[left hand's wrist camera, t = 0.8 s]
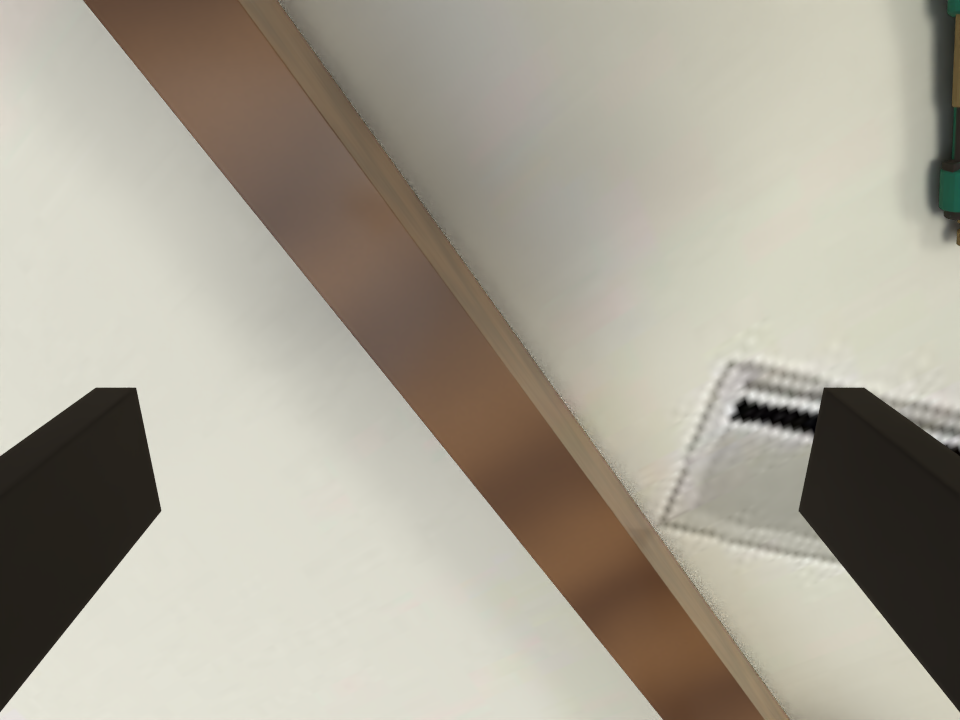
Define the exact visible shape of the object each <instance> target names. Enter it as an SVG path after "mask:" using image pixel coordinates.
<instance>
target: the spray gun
mask: <svg viewBox="0 0 960 720" xmlns="http://www.w3.org/2000/svg"><path fill="white" fill-rule="evenodd" d="M947 13H948V14H949V15H950V16H952V17H956V21H955V43H954V66H953V89H952V107H954V121H953V146H952V160H948V161H944V162H942V169H941V170H940V188H939V208H940V209H942V210H944V216H945V217H946V218H948V219H953V220H957V222H958V223H959V224H960V0H948V5H947ZM957 244H958V245H959V246H960V229H958V230H957Z"/></svg>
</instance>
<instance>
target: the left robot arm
mask: <svg viewBox="0 0 960 720" xmlns="http://www.w3.org/2000/svg"><path fill="white" fill-rule="evenodd" d="M160 512H161V507H160V502H159V497H158V492H157V487H156V482H155V478H154V473H153V468H152V463H151V458H150V453H149V448H148V444H147V439H146V434H145V429H144V424H143V419H142V414H141V410H140V405H139V400H138V395H137V390H136V388H95V389H93V390H92V391H91V392H89V393H88V394H86V395H85V396H84V397H82V398H81V399H79V400H78V401H77V402H75V403H74V404H72V405H71V406H70V407H68V408H67V409H66V410H64V411H63V412H61V413H60V414H59V415H57V416H56V417H54V418H53V419H52V420H50V421H49V422H47V423H46V424H45V425H43V426H42V427H40V428H39V429H38V430H36V431H35V432H33V433H32V434H31V435H29V436H28V437H26V438H25V439H24V440H22V441H21V442H19V443H18V444H17V445H15V446H14V447H12V448H11V449H10V450H8V451H7V452H5V453H4V454H3V455H1V456H0V712H1V710H2V709H3V708H4V707H5V705H6V704H7V703H8V702H9V700H10V699H11V698H12V697H13V695H14V694H15V693H16V692H17V690H18V689H19V688H20V687H21V685H22V684H23V683H24V682H25V680H26V679H27V678H28V677H29V675H30V674H31V673H32V672H33V670H34V669H35V668H36V667H37V665H38V664H39V663H40V662H41V660H42V659H43V658H44V657H45V655H46V654H47V653H48V652H49V651H50V649H51V648H52V647H53V646H54V644H55V643H56V642H57V641H58V639H59V638H60V637H61V636H62V634H63V633H64V632H65V631H66V629H67V628H68V627H69V626H70V624H71V623H72V622H73V621H74V619H75V618H76V617H77V616H78V614H79V613H80V612H81V611H82V609H83V608H84V607H85V606H86V604H87V603H88V602H89V601H90V599H91V598H92V597H93V596H94V594H95V593H96V592H97V591H98V589H99V588H100V587H101V586H102V584H103V583H104V582H105V581H106V579H107V578H108V577H109V576H110V574H111V573H112V572H113V571H114V569H115V568H116V567H117V566H118V564H119V563H120V562H121V561H122V559H123V558H124V557H125V556H126V554H127V553H128V552H129V551H130V549H131V548H132V547H133V546H134V544H135V543H136V542H137V541H138V539H139V538H140V537H141V536H142V534H143V533H144V532H145V531H146V529H147V528H148V527H149V526H150V524H151V523H152V522H153V521H154V519H155V518H156V517H157V516H158V514H159V513H160ZM799 512H800V513H801V514H802V516H803V517H804V518H805V519H806V521H807V522H808V523H809V524H810V526H811V527H812V528H813V529H814V531H815V532H816V533H817V534H818V536H819V537H820V538H821V539H822V541H823V542H824V543H825V544H826V546H827V547H828V548H829V549H830V551H831V552H832V553H833V554H834V556H835V557H836V558H837V559H838V561H839V562H840V563H841V564H842V566H843V567H844V568H845V569H846V571H847V572H848V573H849V574H850V576H851V577H852V578H853V579H854V581H855V582H856V583H857V584H858V586H859V587H860V588H861V589H862V591H863V592H864V593H865V594H866V596H867V597H868V598H869V599H870V601H871V602H872V603H873V604H874V606H875V607H876V608H877V609H878V611H879V612H880V613H881V614H882V616H883V617H884V618H885V619H886V621H887V622H888V623H889V624H890V626H891V627H892V628H893V629H894V631H895V632H896V633H897V634H898V636H899V637H900V638H901V639H902V641H903V642H904V643H905V644H906V646H907V647H908V648H909V649H910V651H911V652H912V653H913V654H914V656H915V657H916V658H917V659H918V660H919V662H920V663H921V664H922V665H923V667H924V668H925V669H926V670H927V672H928V673H929V674H930V675H931V677H932V678H933V679H934V680H935V682H936V683H937V684H938V685H939V687H940V688H941V689H942V690H943V692H944V693H945V694H946V695H947V697H948V698H949V699H950V700H951V702H952V703H953V704H954V705H955V707H956V708H957V709H958V710H959V712H960V456H959V455H957V454H956V453H955V452H953V451H952V450H950V449H949V448H948V447H946V446H945V445H943V444H942V443H941V442H939V441H938V440H936V439H935V438H934V437H932V436H931V435H929V434H928V433H927V432H925V431H924V430H922V429H921V428H920V427H918V426H917V425H915V424H914V423H913V422H911V421H910V420H908V419H907V418H906V417H904V416H903V415H901V414H900V413H899V412H897V411H896V410H894V409H893V408H892V407H890V406H889V405H888V404H886V403H885V402H883V401H882V400H881V399H879V398H878V397H876V396H875V395H874V394H872V393H871V392H869V391H868V390H867V389H865V388H824V390H823V395H822V400H821V405H820V410H819V414H818V419H817V424H816V429H815V434H814V439H813V444H812V448H811V453H810V458H809V463H808V468H807V473H806V478H805V482H804V487H803V492H802V497H801V502H800V507H799Z"/></svg>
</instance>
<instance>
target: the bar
mask: <svg viewBox="0 0 960 720" xmlns="http://www.w3.org/2000/svg"><path fill="white" fill-rule="evenodd" d="M83 1H84V2H85V3H86V4H87V6H88V7H89V8H90V9H91V10H92V12H93V13H94V14H95V15H96V17H97V18H98V19H99V20H100V22H101V23H102V24H103V25H104V27H105V28H106V29H107V30H108V32H109V33H110V34H111V35H112V37H113V38H114V39H115V40H116V42H117V43H118V44H119V45H120V46H121V48H122V49H123V50H124V51H125V53H126V54H127V55H128V56H129V58H130V59H131V60H132V61H133V63H134V64H135V65H136V66H137V68H138V69H139V70H140V71H141V73H142V74H143V75H144V76H145V77H146V79H147V80H148V81H149V82H150V84H151V85H152V86H153V87H154V89H155V90H156V91H157V92H158V94H159V95H160V96H161V97H162V99H163V100H164V101H165V102H166V104H167V105H168V106H169V107H170V108H171V110H172V111H173V112H174V113H175V115H176V116H177V117H178V118H179V120H180V121H181V122H182V123H183V125H184V126H185V127H186V128H187V130H188V131H189V132H190V133H191V135H192V136H193V137H194V138H195V140H196V141H197V142H198V143H199V144H200V146H201V147H202V148H203V149H204V151H205V152H206V153H207V154H208V156H209V157H210V158H211V159H212V161H213V162H214V163H215V164H216V166H217V167H218V168H219V169H220V171H221V172H222V173H223V174H224V175H225V177H226V178H227V179H228V180H229V182H230V183H231V184H232V185H233V187H234V188H235V189H236V190H237V192H238V193H239V194H240V195H241V197H242V198H243V199H244V200H245V202H246V203H247V204H248V205H249V206H250V208H251V209H252V210H253V211H254V213H255V214H256V215H257V216H258V218H259V219H260V220H261V221H262V223H263V224H264V225H265V226H266V228H267V229H268V230H269V231H270V233H271V234H272V235H273V236H274V238H275V239H276V240H277V241H278V242H279V244H280V245H281V246H282V247H283V249H284V250H285V251H286V252H287V254H288V255H289V256H290V257H291V259H292V260H293V261H294V262H295V264H296V265H297V266H298V267H299V269H300V270H301V271H302V272H303V273H304V275H305V276H306V277H307V278H308V280H309V281H310V282H311V283H312V285H313V286H314V287H315V288H316V290H317V291H318V292H319V293H320V295H321V296H322V297H323V298H324V300H325V301H326V302H327V303H328V304H329V306H330V307H331V308H332V309H333V311H334V312H335V313H336V314H337V316H338V317H339V318H340V319H341V321H342V322H343V323H344V324H345V326H346V327H347V328H348V329H349V331H350V332H351V333H352V334H353V336H354V337H355V338H356V339H357V340H358V342H359V343H360V344H361V345H362V347H363V348H364V349H365V350H366V352H367V353H368V354H369V355H370V357H371V358H372V359H373V360H374V362H375V363H376V364H377V365H378V367H379V368H380V369H381V370H382V371H383V373H384V374H385V375H386V376H387V378H388V379H389V380H390V381H391V383H392V384H393V385H394V386H395V388H396V389H397V390H398V391H399V393H400V394H401V395H402V396H403V398H404V399H405V400H406V401H407V402H408V404H409V405H410V406H411V407H412V409H413V410H414V411H415V412H416V414H417V415H418V416H419V417H420V419H421V420H422V421H423V422H424V424H425V425H426V426H427V427H428V429H429V430H430V431H431V432H432V433H433V435H434V436H435V437H436V438H437V440H438V441H439V442H440V443H441V445H442V446H443V447H444V448H445V450H446V451H447V452H448V453H449V455H450V456H451V457H452V458H453V460H454V461H455V462H456V463H457V465H458V466H459V467H460V468H461V469H462V471H463V472H464V473H465V474H466V476H467V477H468V478H469V479H470V481H471V482H472V483H473V484H474V486H475V487H476V488H477V489H478V491H479V492H480V493H481V494H482V496H483V497H484V498H485V499H486V500H487V502H488V503H489V504H490V505H491V507H492V508H493V509H494V510H495V512H496V513H497V514H498V515H499V517H500V518H501V519H502V520H503V522H504V523H505V524H506V525H507V527H508V528H509V529H510V530H511V531H512V533H513V534H514V535H515V536H516V538H517V539H518V540H519V541H520V543H521V544H522V545H523V546H524V548H525V549H526V550H527V551H528V553H529V554H530V555H531V556H532V558H533V559H534V560H535V561H536V563H537V564H538V565H539V566H540V567H541V569H542V570H543V571H544V572H545V574H546V575H547V576H548V577H549V579H550V580H551V581H552V582H553V584H554V585H555V586H556V587H557V589H558V590H559V591H560V592H561V594H562V595H563V596H564V597H565V598H566V600H567V601H568V602H569V603H570V605H571V606H572V607H573V608H574V610H575V611H576V612H577V613H578V615H579V616H580V617H581V618H582V620H583V621H584V622H585V623H586V625H587V626H588V627H589V628H590V629H591V631H592V632H593V633H594V634H595V636H596V637H597V638H598V639H599V641H600V642H601V643H602V644H603V646H604V647H605V648H606V649H607V651H608V652H609V653H610V654H611V656H612V657H613V658H614V659H615V661H616V662H617V663H618V664H619V665H620V667H621V668H622V669H623V670H624V672H625V673H626V674H627V675H628V677H629V678H630V679H631V680H632V682H633V683H634V684H635V685H636V687H637V688H638V689H639V690H640V692H641V693H642V694H643V695H644V696H645V698H646V699H647V700H648V701H649V703H650V704H651V705H652V706H653V708H654V709H655V710H656V711H657V713H658V714H659V715H660V716H661V718H662V719H663V720H790V719H789V718H788V716H787V715H786V713H785V712H784V711H783V709H782V708H781V706H780V705H779V704H778V702H777V701H776V699H775V698H774V697H773V695H772V694H771V692H770V691H769V690H768V688H767V687H766V685H765V684H764V683H763V681H762V680H761V678H760V677H759V676H758V674H757V673H756V671H755V670H754V669H753V667H752V666H751V664H750V663H749V661H748V660H747V659H746V657H745V656H744V654H743V653H742V652H741V650H740V649H739V647H738V646H737V645H736V643H735V642H734V640H733V639H732V638H731V636H730V635H729V633H728V632H727V631H726V629H725V628H724V626H723V625H722V624H721V622H720V621H719V619H718V618H717V617H716V615H715V614H714V612H713V611H712V610H711V608H710V607H709V605H708V604H707V603H706V601H705V600H704V598H703V597H702V596H701V594H700V593H699V591H698V590H697V589H696V587H695V586H694V584H693V583H692V582H691V580H690V579H689V577H688V576H687V575H686V573H685V572H684V570H683V569H682V568H681V566H680V565H679V563H678V562H677V561H676V559H675V558H674V556H673V555H672V553H671V552H670V551H669V549H668V548H667V546H666V545H665V544H664V542H663V541H662V539H661V538H660V537H659V535H658V534H657V532H656V531H655V530H654V528H653V527H652V525H651V524H650V523H649V521H648V520H647V518H646V517H645V516H644V514H643V513H642V511H641V510H640V509H639V507H638V506H637V504H636V503H635V502H634V500H633V499H632V497H631V496H630V495H629V493H628V492H627V490H626V489H625V488H624V486H623V485H622V483H621V482H620V481H619V479H618V478H617V476H616V475H615V474H614V472H613V471H612V469H611V468H610V467H609V465H608V464H607V462H606V461H605V460H604V458H603V457H602V455H601V454H600V453H599V451H598V450H597V448H596V447H595V445H594V444H593V443H592V441H591V440H590V438H589V437H588V436H587V434H586V433H585V431H584V430H583V429H582V427H581V426H580V424H579V423H578V422H577V420H576V419H575V417H574V416H573V415H572V413H571V412H570V410H569V409H568V408H567V406H566V405H565V403H564V402H563V401H562V399H561V398H560V396H559V395H558V394H557V392H556V391H555V389H554V388H553V387H552V385H551V384H550V382H549V381H548V380H547V378H546V377H545V375H544V374H543V373H542V371H541V370H540V368H539V367H538V366H537V364H536V363H535V361H534V360H533V359H532V357H531V356H530V354H529V353H528V352H527V350H526V349H525V347H524V346H523V345H522V343H521V342H520V340H519V339H518V337H517V336H516V335H515V333H514V332H513V330H512V329H511V328H510V326H509V325H508V323H507V322H506V321H505V319H504V318H503V316H502V315H501V314H500V312H499V311H498V309H497V308H496V307H495V305H494V304H493V302H492V301H491V300H490V298H489V297H488V295H487V294H486V293H485V291H484V290H483V288H482V287H481V286H480V284H479V283H478V281H477V280H476V279H475V277H474V276H473V274H472V273H471V272H470V270H469V269H468V267H467V266H466V265H465V263H464V262H463V260H462V259H461V258H460V256H459V255H458V253H457V252H456V251H455V249H454V248H453V246H452V245H451V244H450V242H449V241H448V239H447V238H446V237H445V235H444V234H443V232H442V231H441V229H440V228H439V227H438V225H437V224H436V222H435V221H434V220H433V218H432V217H431V215H430V214H429V213H428V211H427V210H426V208H425V207H424V206H423V204H422V203H421V201H420V200H419V199H418V197H417V196H416V194H415V193H414V192H413V190H412V189H411V187H410V186H409V185H408V183H407V182H406V180H405V179H404V178H403V176H402V175H401V173H400V172H399V171H398V169H397V168H396V166H395V165H394V164H393V162H392V161H391V159H390V158H389V157H388V155H387V154H386V152H385V151H384V150H383V148H382V147H381V145H380V144H379V143H378V141H377V140H376V138H375V137H374V136H373V134H372V133H371V131H370V130H369V129H368V127H367V126H366V124H365V123H364V121H363V120H362V119H361V117H360V116H359V114H358V113H357V112H356V110H355V109H354V107H353V106H352V105H351V103H350V102H349V100H348V99H347V98H346V96H345V95H344V93H343V92H342V91H341V89H340V88H339V86H338V85H337V84H336V82H335V81H334V79H333V78H332V77H331V75H330V74H329V72H328V71H327V70H326V68H325V67H324V65H323V64H322V63H321V61H320V60H319V58H318V57H317V56H316V54H315V53H314V51H313V50H312V49H311V47H310V46H309V44H308V43H307V42H306V40H305V39H304V37H303V36H302V35H301V33H300V32H299V30H298V29H297V28H296V26H295V25H294V23H293V22H292V21H291V19H290V18H289V16H288V15H287V13H286V12H285V11H284V9H283V8H282V6H281V5H280V4H279V2H278V1H277V0H83Z"/></svg>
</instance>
